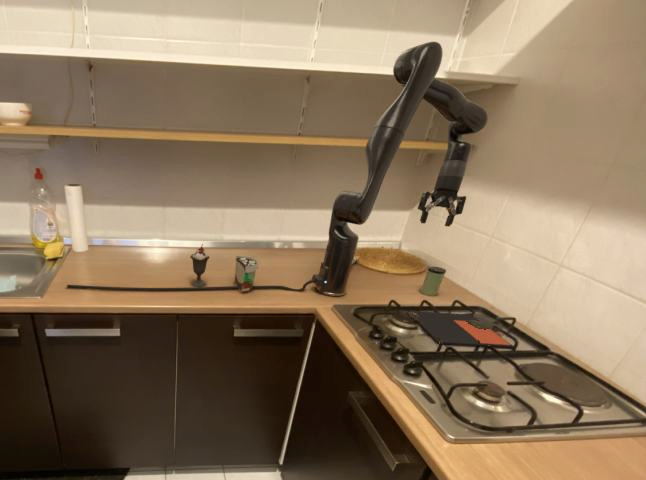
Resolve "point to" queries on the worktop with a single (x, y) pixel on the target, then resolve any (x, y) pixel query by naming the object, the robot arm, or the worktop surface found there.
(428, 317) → the corner mat
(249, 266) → the food container
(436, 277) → the tea tin
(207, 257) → the sundae
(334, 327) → the worktop surface
